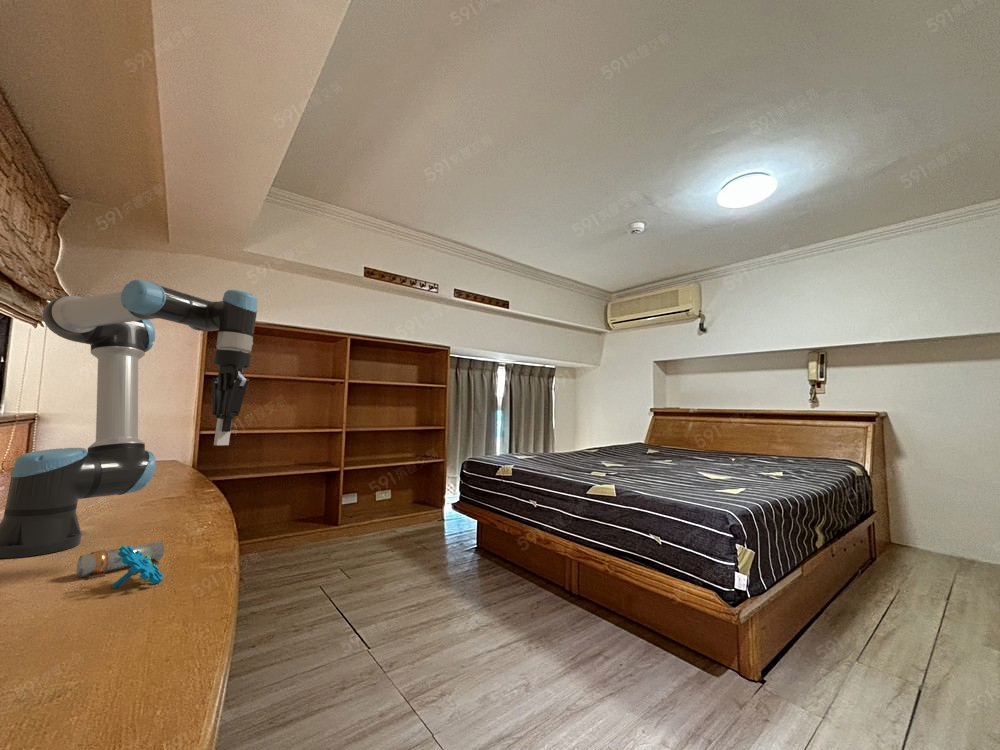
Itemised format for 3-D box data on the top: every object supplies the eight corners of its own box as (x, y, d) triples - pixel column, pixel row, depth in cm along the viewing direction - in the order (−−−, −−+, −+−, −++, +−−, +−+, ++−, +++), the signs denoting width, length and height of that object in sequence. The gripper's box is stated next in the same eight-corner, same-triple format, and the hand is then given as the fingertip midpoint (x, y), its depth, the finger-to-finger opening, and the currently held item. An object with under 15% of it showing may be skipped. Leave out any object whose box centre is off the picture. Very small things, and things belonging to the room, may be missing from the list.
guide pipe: (74, 575, 81) (78, 551, 82) (153, 558, 92) (156, 538, 93) (83, 581, 79) (87, 556, 79) (162, 563, 90) (166, 541, 91)
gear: (160, 582, 76) (118, 546, 74) (126, 611, 73) (82, 573, 71) (172, 571, 85) (136, 539, 84) (143, 596, 82) (104, 563, 81)
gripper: (263, 352, 102) (251, 446, 99) (235, 355, 108) (223, 443, 105) (232, 347, 95) (218, 447, 92) (204, 350, 102) (190, 443, 99)
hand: (221, 445), depth 99 cm, fingers closed
